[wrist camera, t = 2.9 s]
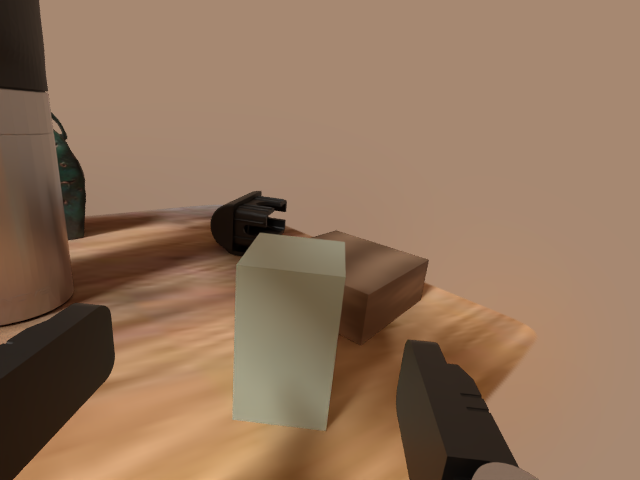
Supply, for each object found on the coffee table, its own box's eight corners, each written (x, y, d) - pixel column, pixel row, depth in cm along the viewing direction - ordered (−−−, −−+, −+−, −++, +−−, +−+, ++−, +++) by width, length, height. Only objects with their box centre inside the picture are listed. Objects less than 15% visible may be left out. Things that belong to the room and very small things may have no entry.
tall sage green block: (232, 419, 22) (236, 264, 18) (254, 360, 27) (259, 232, 24) (325, 431, 22) (345, 277, 18) (329, 369, 27) (344, 241, 24)
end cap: (240, 231, 56) (241, 188, 54) (285, 238, 55) (288, 194, 52) (209, 253, 46) (209, 201, 44) (262, 261, 45) (265, 209, 43)
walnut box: (261, 297, 37) (263, 251, 36) (332, 267, 46) (336, 230, 45) (360, 348, 30) (368, 294, 29) (420, 302, 39) (428, 259, 38)
